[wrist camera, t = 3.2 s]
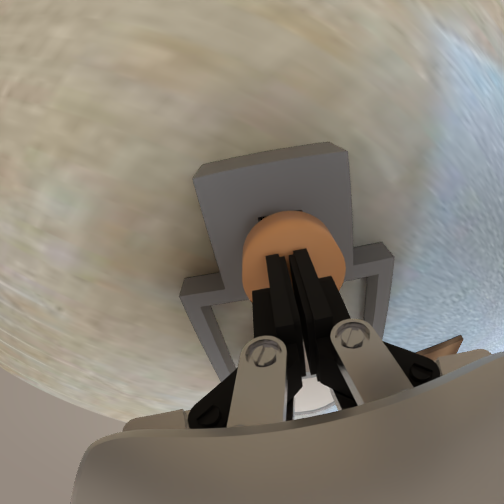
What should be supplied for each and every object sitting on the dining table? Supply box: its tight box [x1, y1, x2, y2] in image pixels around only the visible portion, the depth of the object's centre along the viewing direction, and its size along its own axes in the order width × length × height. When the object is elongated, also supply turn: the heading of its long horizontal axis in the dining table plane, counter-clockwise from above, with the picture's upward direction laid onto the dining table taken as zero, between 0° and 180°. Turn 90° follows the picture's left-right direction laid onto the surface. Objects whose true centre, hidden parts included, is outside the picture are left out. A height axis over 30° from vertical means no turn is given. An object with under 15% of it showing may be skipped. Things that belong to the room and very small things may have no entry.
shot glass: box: [294, 342, 335, 415], centre depth 21 cm, size 7×7×7 cm
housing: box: [179, 142, 394, 382], centre depth 20 cm, size 15×23×4 cm, turn 11°
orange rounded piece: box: [242, 211, 346, 302], centre depth 13 cm, size 4×4×4 cm
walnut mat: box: [417, 335, 463, 360], centre depth 30 cm, size 14×14×1 cm
